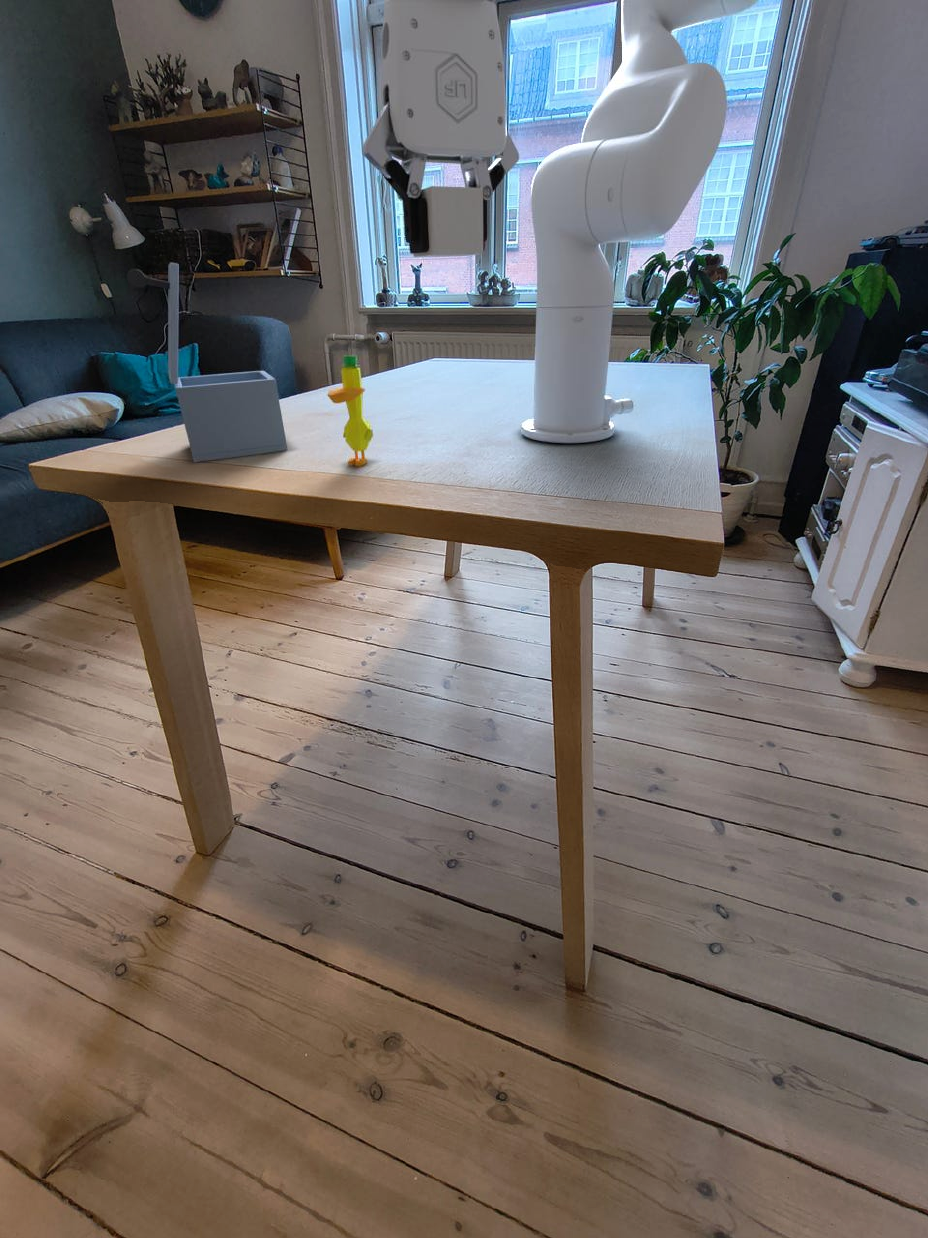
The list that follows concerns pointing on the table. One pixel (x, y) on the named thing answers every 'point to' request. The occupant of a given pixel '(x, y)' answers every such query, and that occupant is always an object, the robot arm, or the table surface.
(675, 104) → the robot arm
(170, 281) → the box lid
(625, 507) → the table surface
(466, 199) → the pale grey cube
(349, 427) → the toy figure
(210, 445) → the grey storage bin
